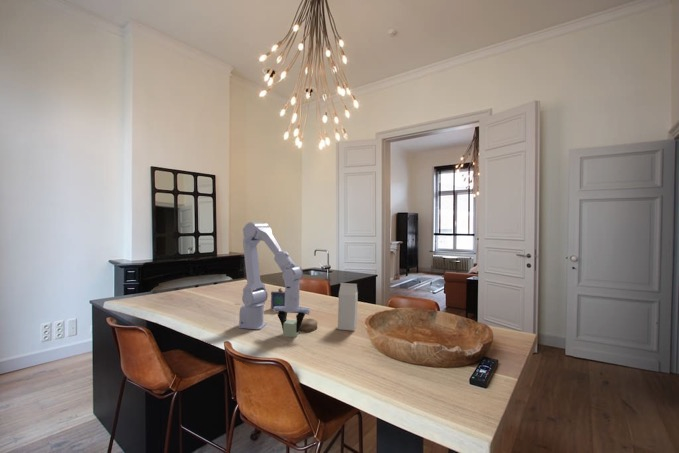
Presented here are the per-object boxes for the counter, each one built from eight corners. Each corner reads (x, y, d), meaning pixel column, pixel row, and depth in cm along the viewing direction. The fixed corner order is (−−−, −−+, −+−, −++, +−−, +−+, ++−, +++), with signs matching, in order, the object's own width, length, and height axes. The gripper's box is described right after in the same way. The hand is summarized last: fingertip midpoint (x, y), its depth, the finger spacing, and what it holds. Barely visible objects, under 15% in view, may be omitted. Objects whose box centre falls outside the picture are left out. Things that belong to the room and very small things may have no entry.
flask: (269, 309, 157) (270, 288, 157) (272, 307, 160) (273, 287, 160) (286, 310, 155) (287, 289, 155) (289, 309, 158) (289, 288, 158)
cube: (283, 336, 121) (283, 323, 121) (287, 331, 126) (287, 319, 125) (295, 337, 120) (295, 324, 120) (299, 332, 125) (299, 320, 125)
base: (293, 330, 127) (293, 324, 127) (299, 323, 136) (299, 317, 136) (314, 332, 126) (314, 326, 126) (319, 325, 135) (319, 319, 135)
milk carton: (354, 331, 128) (355, 285, 128) (337, 329, 130) (338, 284, 130) (356, 325, 135) (358, 282, 135) (341, 324, 137) (342, 281, 136)
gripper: (270, 298, 120) (270, 332, 120) (307, 300, 118) (306, 335, 118) (277, 294, 127) (276, 327, 127) (311, 296, 124) (310, 329, 125)
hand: (291, 330), depth 123 cm, fingers closed on cube, 5 cm apart
